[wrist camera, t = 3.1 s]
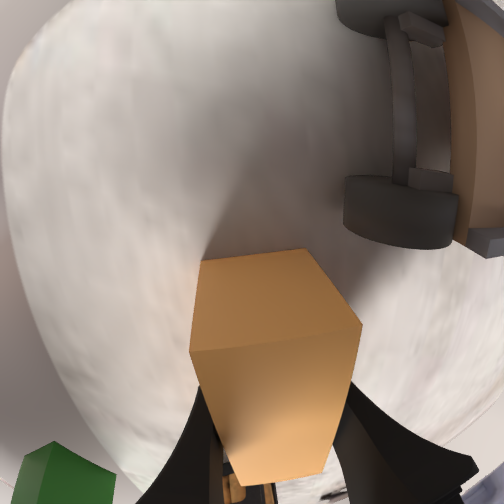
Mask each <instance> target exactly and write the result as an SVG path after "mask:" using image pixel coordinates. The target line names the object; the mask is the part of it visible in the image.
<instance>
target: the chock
mask: <svg viewBox="0 0 504 504" xmlns="http://www.w3.org/2000/svg"><path fill="white" fill-rule="evenodd" d="M362 326H363V324H362V323H361V322H360V320H359V319H358V317H357V316H356V315H355V313H354V312H353V310H352V309H351V308H350V306H349V305H348V304H347V302H346V301H345V299H344V298H343V297H342V295H341V294H340V293H339V291H338V290H337V289H336V287H335V286H334V285H333V283H332V282H331V281H330V279H329V278H328V277H327V275H326V274H325V273H324V271H323V270H322V269H321V267H320V266H319V265H318V263H317V262H316V261H315V260H314V258H313V257H312V256H311V254H310V253H309V252H308V251H307V249H306V248H302V249H293V250H285V251H277V252H269V253H261V254H253V255H245V256H236V257H228V258H220V259H212V260H204V261H201V264H200V270H199V277H198V284H197V291H196V298H195V305H194V313H193V321H192V329H191V338H190V347H189V353H190V357H191V360H192V363H193V366H194V369H195V372H196V375H197V378H198V381H199V384H200V387H201V390H202V393H203V395H204V398H205V401H206V404H207V406H208V409H209V412H210V414H211V417H212V420H213V422H214V425H215V427H216V430H217V432H218V435H219V437H220V440H221V442H222V445H223V447H224V449H225V452H226V454H227V456H228V459H229V461H230V463H231V465H232V468H233V470H234V472H235V474H236V476H237V479H238V481H239V483H240V485H241V486H250V485H259V484H267V483H274V482H280V481H286V480H291V479H297V478H301V477H306V476H311V475H315V474H319V473H322V471H323V468H324V466H325V463H326V460H327V458H328V455H329V452H330V449H331V446H332V443H333V440H334V437H335V434H336V431H337V428H338V425H339V422H340V419H341V415H342V412H343V408H344V405H345V401H346V398H347V394H348V390H349V386H350V382H351V378H352V374H353V370H354V365H355V361H356V356H357V352H358V347H359V342H360V337H361V331H362Z"/></svg>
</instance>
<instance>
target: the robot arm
mask: <svg viewBox="0 0 504 504" xmlns="http://www.w3.org/2000/svg"><path fill="white" fill-rule="evenodd" d="M332 444H333V447H334V449H335V452H336V454H337V457H338V459H339V462H340V465H341V468H342V471H343V475H344V479H345V483H346V487H347V492H348V496H349V501H350V504H504V462H503V463H502V464H500V465H499V466H498V467H497V468H496V469H495V470H493V472H491V473H490V474H488V475H487V476H485V477H484V478H483V479H481V480H480V481H479V482H477V483H476V484H475V485H474V486H472V487H471V488H470V489H468V490H467V491H466V492H465V493H464V494H463V495H462V496H460V494H459V493H460V492H462V488H461V485H462V484H463V483H465V482H466V481H467V480H469V479H470V478H472V477H473V476H474V475H475V474H477V473H478V472H479V469H478V467H477V465H476V463H475V462H474V460H473V459H472V457H471V456H468V455H464V454H461V453H457V452H454V451H451V450H448V449H445V448H443V447H440V446H438V445H436V444H434V443H432V442H430V441H428V440H425V439H423V438H421V437H420V436H418V435H416V434H414V433H413V432H411V431H409V430H408V429H406V428H405V427H403V426H402V425H400V424H399V423H398V422H396V421H395V420H393V419H392V418H391V417H390V416H388V415H387V414H386V413H385V412H383V411H382V410H381V409H380V408H379V407H378V406H376V405H375V404H374V403H373V402H372V401H371V400H370V399H369V398H368V397H367V396H366V395H365V394H364V393H362V392H361V391H360V390H359V389H358V388H357V387H356V385H355V384H354V383H353V382H352V381H351V382H350V386H349V390H348V394H347V398H346V401H345V405H344V408H343V412H342V415H341V419H340V422H339V425H338V428H337V431H336V434H335V437H334V440H333V443H332ZM136 504H225V503H224V494H223V445H222V442H221V440H220V437H219V435H218V432H217V430H216V427H215V425H214V422H213V420H212V417H211V414H210V412H209V409H208V406H207V404H206V401H205V398H204V395H203V393H202V390H201V387H200V385H199V386H198V391H197V395H196V398H195V402H194V405H193V408H192V410H191V413H190V416H189V418H188V421H187V423H186V426H185V428H184V430H183V433H182V435H181V437H180V439H179V441H178V443H177V445H176V447H175V449H174V451H173V452H172V454H171V456H170V458H169V459H168V461H167V463H166V464H165V466H164V468H163V469H162V471H161V472H160V473H159V475H158V476H157V478H156V479H155V481H154V482H153V483H152V485H151V486H150V487H149V489H148V490H147V491H146V492H145V493H144V494H143V496H142V497H141V498H140V499H139V500H138V501H137V502H136Z"/></svg>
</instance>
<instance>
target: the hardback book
mask: <svg viewBox="0 0 504 504" xmlns="http://www.w3.org/2000/svg"><path fill="white" fill-rule="evenodd" d="M115 481H116V474H115V473H112V472H110V471H108V470H106V469H103V468H101V467H100V466H98V465H96V464H94V463H92V462H90V461H88V460H86V459H84V458H82V457H81V456H78V455H77V454H75V453H73V452H72V451H70V450H68V449H67V448H65V447H63V446H62V445H60V444H59V443H57V442H55V441H53V442H51V443H49V444H47V445H45V446H43V447H41V448H40V449H38V450H36V451H33V452H31V453H30V454H27V455H25V456H24V459H23V462H22V465H21V468H20V471H19V475H18V478H17V481H16V485H15V488H14V492H13V496H12V500H11V504H112V501H113V495H114V488H115Z"/></svg>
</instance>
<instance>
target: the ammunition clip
mask: <svg viewBox="0 0 504 504" xmlns="http://www.w3.org/2000/svg"><path fill="white" fill-rule="evenodd" d="M223 494H224V503H225V504H278V500H277V493H276V486H275V482H274V483H267V484H259V485H250V486H241V485H240V483H239V481H238V479H237V476H236V474H235V472H234V470H233V468H232V465H231V463H230V462H227V463H224V464H223Z"/></svg>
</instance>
